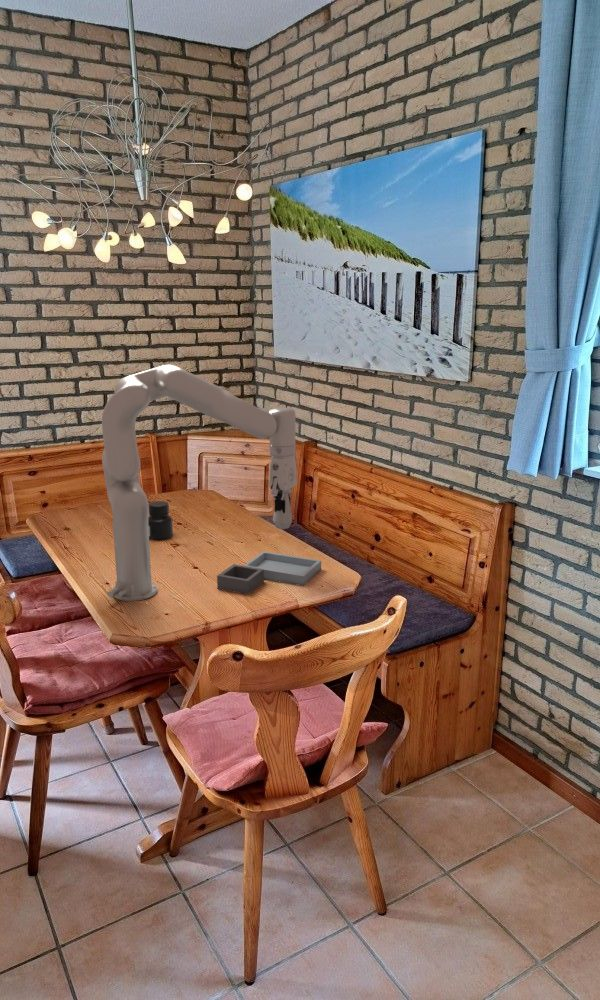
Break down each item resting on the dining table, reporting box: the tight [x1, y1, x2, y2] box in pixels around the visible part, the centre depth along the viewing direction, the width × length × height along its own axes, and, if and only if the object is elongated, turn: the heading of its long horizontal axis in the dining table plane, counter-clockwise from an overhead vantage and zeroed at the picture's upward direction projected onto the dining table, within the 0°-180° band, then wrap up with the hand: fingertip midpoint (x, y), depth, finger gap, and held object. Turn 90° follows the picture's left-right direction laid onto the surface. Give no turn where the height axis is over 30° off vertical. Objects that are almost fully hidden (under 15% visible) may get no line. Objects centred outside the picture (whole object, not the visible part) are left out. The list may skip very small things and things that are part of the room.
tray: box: [242, 550, 322, 587], centre depth 217 cm, size 14×20×3 cm
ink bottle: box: [148, 500, 174, 541], centre depth 247 cm, size 10×9×12 cm
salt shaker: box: [272, 488, 293, 530], centre depth 211 cm, size 6×6×13 cm
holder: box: [216, 563, 265, 595], centre depth 207 cm, size 10×10×4 cm
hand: (282, 510), depth 211 cm, fingers closed on salt shaker, 3 cm apart
